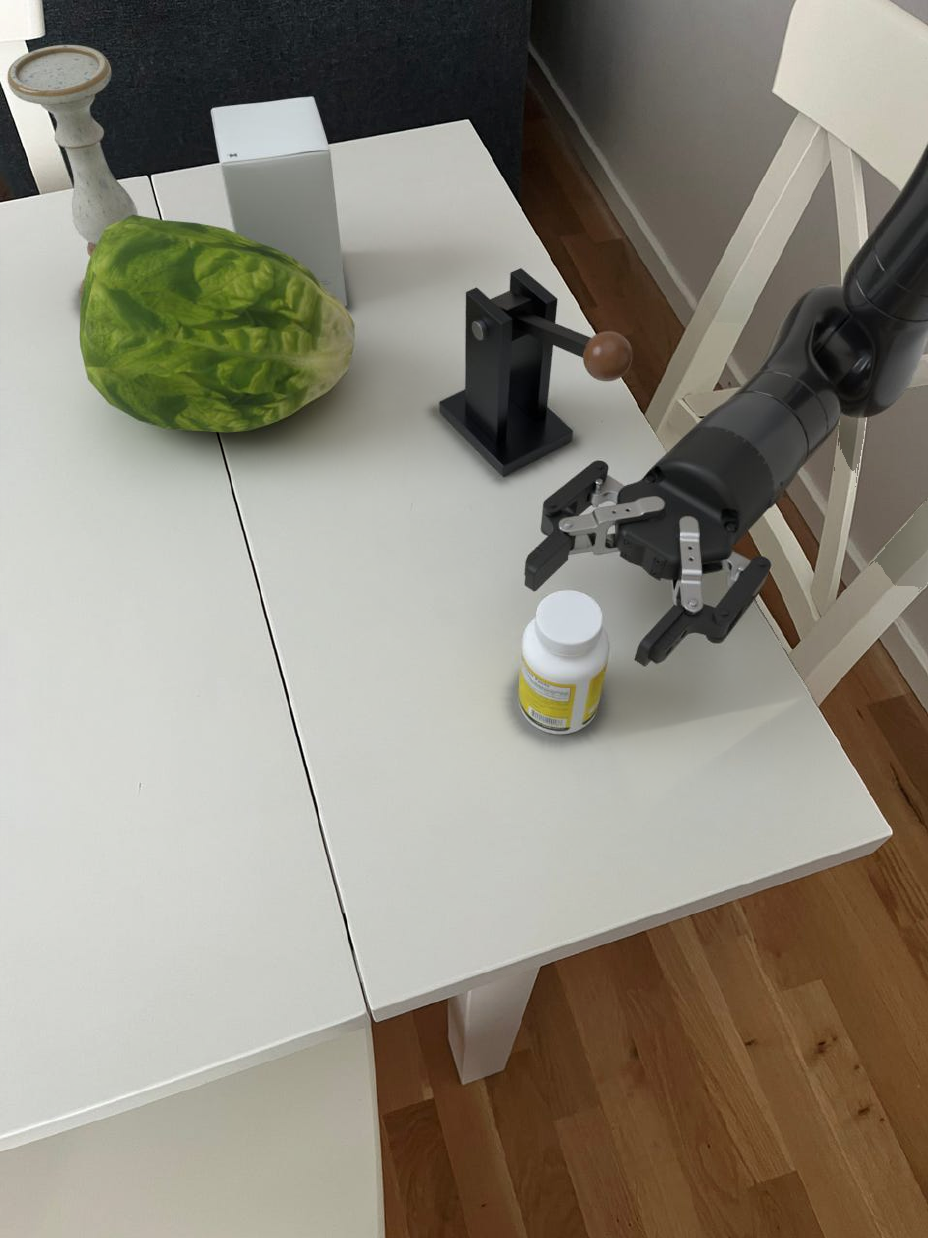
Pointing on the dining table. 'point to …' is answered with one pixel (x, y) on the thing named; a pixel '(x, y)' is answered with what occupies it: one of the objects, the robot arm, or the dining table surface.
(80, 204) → the candle holder
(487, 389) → the bracket
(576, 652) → the supplement bottle
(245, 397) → the lettuce
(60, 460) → the dining table surface
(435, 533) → the dining table surface
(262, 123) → the rectangular carton
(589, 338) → the lever
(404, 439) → the dining table surface
